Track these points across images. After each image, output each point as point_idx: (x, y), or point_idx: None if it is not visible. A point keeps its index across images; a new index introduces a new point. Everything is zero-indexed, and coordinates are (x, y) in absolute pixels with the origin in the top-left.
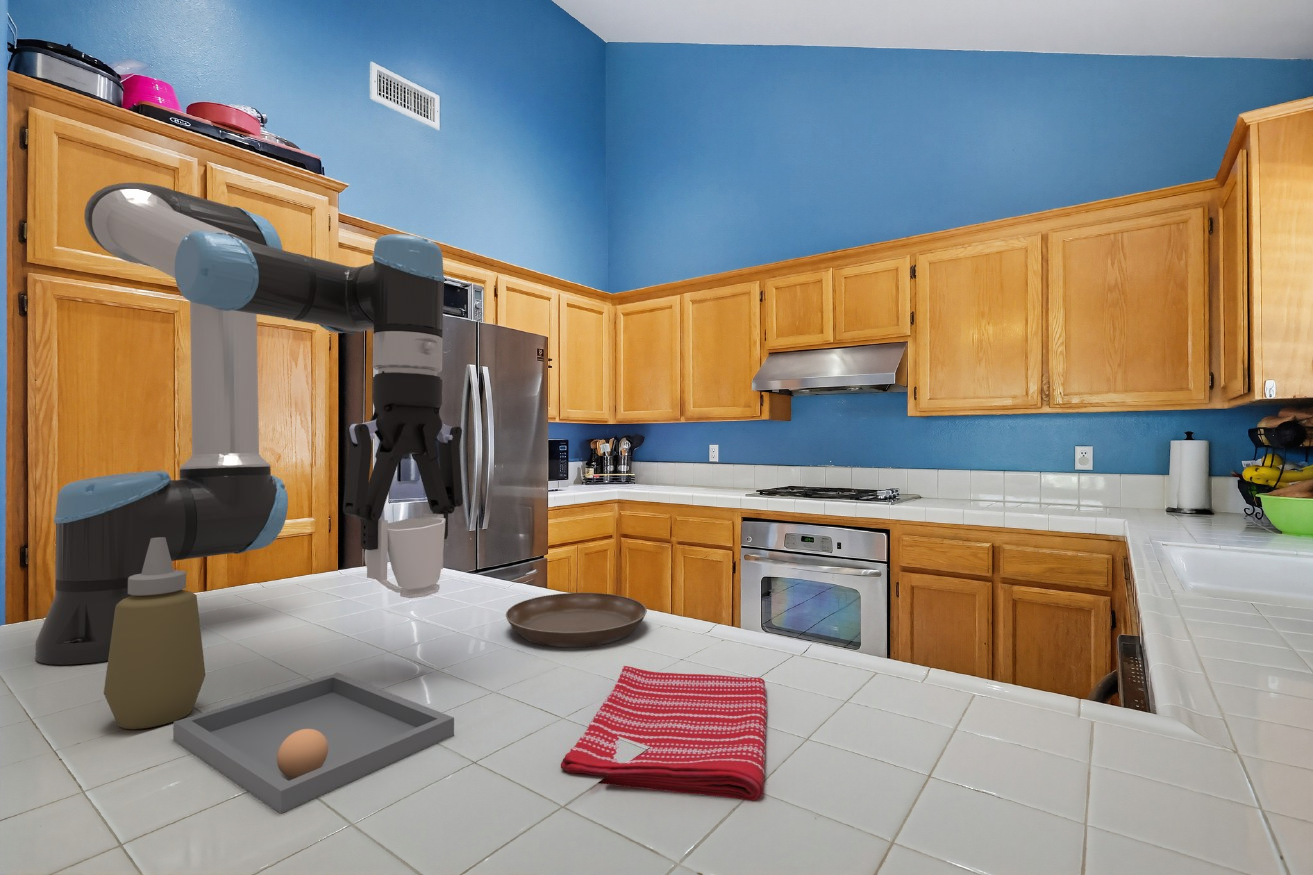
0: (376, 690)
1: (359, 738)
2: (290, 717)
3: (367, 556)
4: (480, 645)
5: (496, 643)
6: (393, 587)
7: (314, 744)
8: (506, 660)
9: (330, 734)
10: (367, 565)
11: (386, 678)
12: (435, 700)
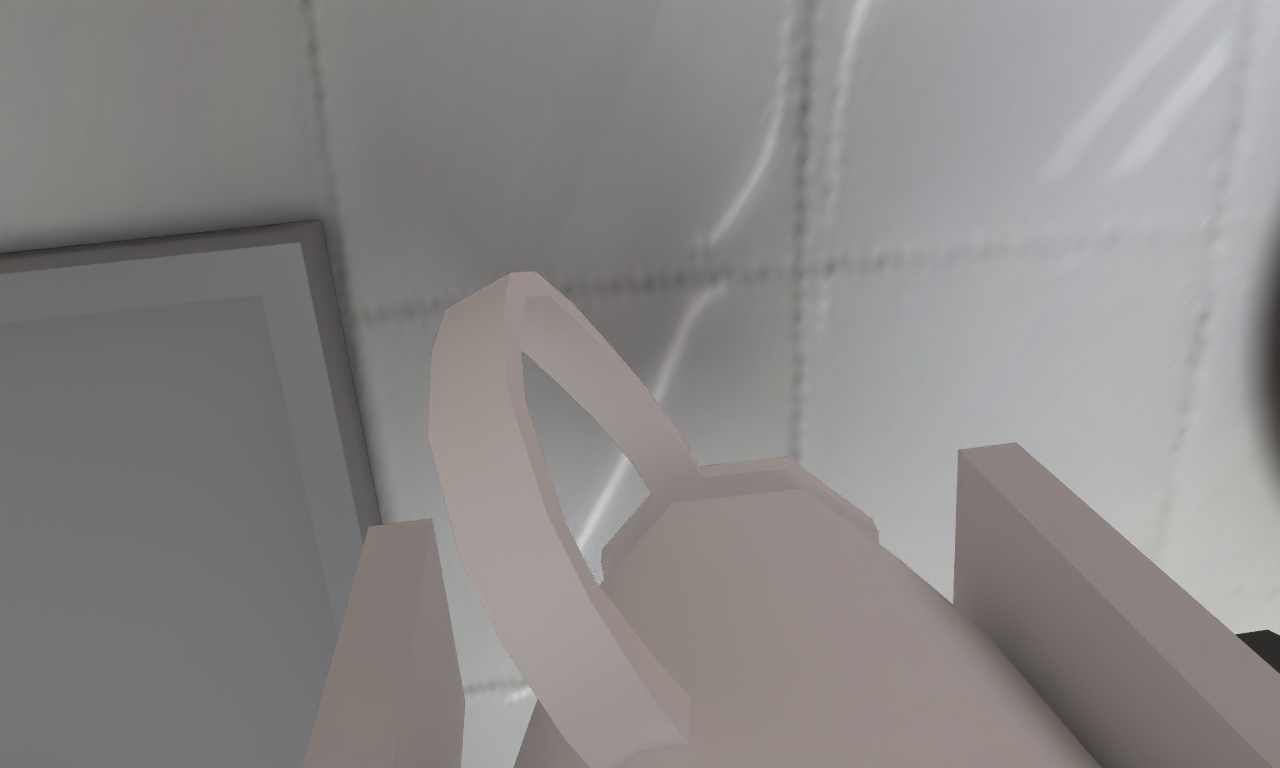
0: None
1: (212, 755)
2: (50, 423)
3: (339, 644)
4: (1169, 98)
5: (1235, 137)
6: (623, 438)
7: None
8: (1065, 396)
9: (141, 667)
10: (355, 588)
11: (579, 189)
12: (593, 572)
